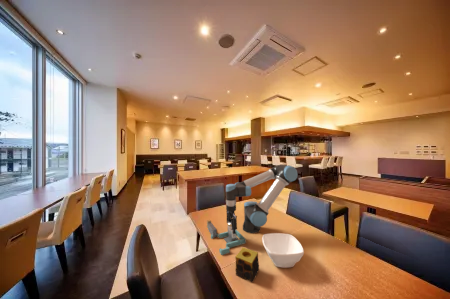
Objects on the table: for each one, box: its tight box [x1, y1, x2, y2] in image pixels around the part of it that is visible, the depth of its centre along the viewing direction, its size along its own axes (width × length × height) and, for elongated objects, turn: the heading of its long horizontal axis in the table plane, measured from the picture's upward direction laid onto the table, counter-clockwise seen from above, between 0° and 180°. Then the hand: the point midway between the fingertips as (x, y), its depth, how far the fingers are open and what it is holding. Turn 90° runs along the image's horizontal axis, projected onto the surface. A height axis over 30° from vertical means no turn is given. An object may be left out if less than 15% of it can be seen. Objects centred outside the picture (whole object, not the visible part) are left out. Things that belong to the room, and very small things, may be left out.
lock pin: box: [206, 219, 218, 239], centre depth 129 cm, size 3×17×7 cm, turn 23°
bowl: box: [261, 232, 305, 268], centre depth 93 cm, size 22×22×12 cm
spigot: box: [226, 221, 237, 238], centre depth 117 cm, size 6×6×10 cm
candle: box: [234, 247, 260, 283], centre depth 85 cm, size 10×10×10 cm
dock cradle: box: [210, 229, 247, 256], centre depth 115 cm, size 21×23×3 cm
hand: (231, 235), depth 117 cm, fingers closed on spigot, 6 cm apart
